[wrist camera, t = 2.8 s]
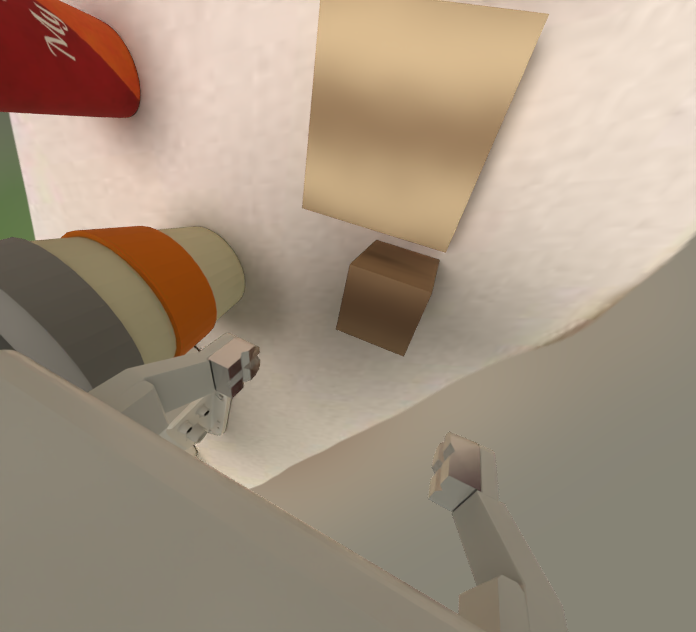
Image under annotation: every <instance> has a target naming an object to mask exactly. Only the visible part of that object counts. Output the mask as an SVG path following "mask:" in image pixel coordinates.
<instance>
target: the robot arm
mask: <svg viewBox="0 0 696 632" xmlns="http://www.w3.org/2000/svg"><path fill="white" fill-rule="evenodd" d="M259 353H260V351H259V347H258V346H256V345H254V344H252V343H250V342H248V341H246V340H244V339H241V338H239V337H237V336H235V335H233V334H231V333H226V334H224V335H222V336H221V337H219V338H218V339H217V340H215V341H214V342H212V343H211V344H210V345H208V346H207V347H205V348H204V349H203V350H201V351H200V352H199V351H198V350H197V349H196V348H194V347H193V348H192V349H191V350H189V351H188V352H187V353H186V354H185V355H182V356H178V357H174V358H170V359H165V360H161V361H157V362H153V363H149V364H144V365H140V366H136V367H132V368H128V369H125V370H124V371H122V372H120V373H119V374H117V375H115V376H114V377H112V378H110V379H109V380H107V381H106V382H104V383H102V384H101V385H99V386H97V387H96V388H94V389H92V390H91V391H89V392H88V393H87V392H85V391H84V390H82V389H80V388H79V387H77V386H75V385H74V384H72V383H70V382H69V381H67V380H65V379H64V378H62V377H60V376H59V375H57V374H55V373H54V372H52V371H50V370H49V369H47V368H45V367H43V366H42V365H40V364H38V363H37V362H35V361H34V360H32V359H30V358H29V357H27V356H25V355H24V354H22V353H20V352H17V351H14V350H0V632H568V628H567V624H566V619H565V614H564V609H563V606H562V604H561V602H560V600H559V599H558V597H557V595H556V593H555V592H554V590H553V588H552V586H551V585H550V583H549V581H548V580H547V578H546V576H545V574H544V572H543V570H542V569H541V567H540V565H539V563H538V562H537V560H536V558H535V556H534V555H533V553H532V551H531V549H530V548H529V546H528V544H527V543H526V541H525V539H524V537H523V535H522V534H521V532H520V530H519V528H518V527H517V525H516V523H515V521H514V520H513V518H512V516H511V514H510V513H509V511H508V509H507V507H506V505H505V504H504V503H502V502H500V500H499V489H498V479H497V467H496V457H495V453H494V451H493V450H491V449H488V448H486V447H484V446H482V445H479V444H477V443H476V442H473V441H471V440H468V439H466V438H464V437H462V436H459V435H457V434H455V433H452V432H450V431H449V432H448V433H447V434H446V435H445V438H444V442H442V443H440V444H439V445H438V447H437V448H436V451H435V454H434V457H433V462H432V469H433V471H434V476H433V477H432V478H431V479H430V486H429V494H428V499H429V500H431V501H432V502H434V503H436V504H438V505H440V506H442V507H443V508H445V509H447V510H449V511H451V512H453V513H452V516H453V519H454V522H455V525H456V527H457V530H458V533H459V536H460V539H461V542H462V545H463V548H464V551H465V554H466V557H467V559H468V562H469V565H470V568H471V571H472V574H473V577H474V580H475V583H476V587H474V588H472V589H469V590H467V591H465V592H463V593H461V594H460V595H459V610H458V612H459V613H458V614H457V613H455V612H454V611H452V610H450V609H448V608H447V607H445V606H444V605H442V604H440V603H439V602H436V601H435V600H433V599H432V598H430V597H429V596H427V595H425V594H424V593H422V592H420V591H418V590H417V589H415V588H413V587H412V586H410V585H408V584H407V583H405V582H403V581H402V580H400V579H398V578H397V577H395V576H393V575H392V574H390V573H388V572H387V571H385V570H383V569H382V568H380V567H378V566H377V565H375V564H373V563H372V562H370V561H368V560H367V559H365V558H363V557H362V556H360V555H358V554H357V553H355V552H353V551H352V550H350V549H348V548H347V547H345V546H343V545H341V544H340V543H338V542H336V541H335V540H333V539H331V538H330V537H328V536H326V535H325V534H323V533H321V532H320V531H318V530H316V529H315V528H313V527H311V526H310V525H308V524H306V523H305V522H303V521H301V520H300V519H298V518H296V517H295V516H293V515H291V514H290V513H288V512H286V511H285V510H283V509H281V508H280V507H278V506H276V505H274V504H273V503H271V502H269V501H268V500H266V499H264V498H263V497H261V496H260V495H258V494H256V493H255V492H253V491H251V490H250V489H248V488H246V487H244V486H243V485H241V484H239V483H238V482H236V481H234V480H233V479H231V478H229V477H228V476H226V475H224V474H223V473H221V472H219V471H218V470H216V469H214V468H213V467H211V466H209V465H208V464H206V463H204V462H203V461H201V460H199V459H198V458H196V457H194V456H193V455H191V454H189V453H188V452H186V451H184V450H186V449H189V448H190V447H192V446H193V445H194V444H195V443H199V442H200V441H201V440H202V439H203V438H204V437H205V436H206V434H207V432H208V433H210V434H214V435H222V434H223V433H224V432H225V430H226V425H227V419H228V413H229V408H230V402H231V398H233V397H234V396H235V395H236V394H237V393H238V392H239V391H240V390H241V389H242V388H243V387H244V382H246V381H249V380H251V379H252V378H253V377H254V376H255V375H256V373H257V371H258V370H259V367H260V359H259V358H258V356H257V355H258V354H259Z"/></svg>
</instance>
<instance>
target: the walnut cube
mask: <svg viewBox="0 0 696 632" xmlns="http://www.w3.org/2000/svg"><path fill="white" fill-rule="evenodd" d="M438 264H439V260H438V259H435V258H432V257H429V256H426V255H423V254H420V253H416V252H413V251H410V250H407V249H404V248H401V247H398V246H394V245H391V244H388V243H385V242H382V241H379V240H376V241H375V242H373V243H372V244H371V245H370V246H369V247H368V248H367V249H366V250H365V251H364V252H363V253H362V254H360V255H359V256H358V257H357V258H356V259H355V260H354V261H353V262H352V263H351V264H350V266H349V270H348V275H347V280H346V284H345V289H344V294H343V298H342V303H341V308H340V312H339V317H338V322H337V326H336V329H337V330H339V331H341V332H344V333H346V334H349V335H351V336H354V337H356V338H359V339H361V340H364V341H366V342H369V343H371V344H374V345H376V346H379V347H381V348H384V349H386V350H389V351H391V352H394V353H396V354H399V355H401V356H404V355H405V353H406V350H407V348H408V346H409V344H410V341H411V339H412V337H413V335H414V332H415V330H416V328H417V326H418V323H419V321H420V319H421V316H422V314H423V312H424V310H425V307H426V305H427V303H428V301H429V298H430V296H431V294H432V291H433V286H434V282H435V277H436V273H437V269H438Z"/></svg>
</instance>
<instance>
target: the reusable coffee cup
mask: <svg viewBox="0 0 696 632" xmlns="http://www.w3.org/2000/svg"><path fill="white" fill-rule="evenodd" d="M244 289H245V277H244V273H243V269H242V267H241V264H240V262H239V260H238V258H237V256H236V254H235V253H234V251H233V250H232V249H231V247H230V246H229V245H228V244H227V243H226V242H225V241H224V240H223V239H222V238H221V237H220V236H219V235H217V234H216V233H214V232H212V231H211V230H209V229H206V228H203V227H197V226H194V227H183V228H171V229H160V230H156V229H153V228H151V227H145V226H132V227H119V228H105V229H91V230H77V231H71V232H67V233H66V234H65V235H63V236H62V237H61V238H59V239H48V240H36V241H27V240H25V239H20V238H14V237H11V238H7V239H3V240H0V350H14V351H17V352H20V353H22V354H24V355H25V356H27V357H29V358H30V359H32V360H34V361H35V362H37V363H38V364H40V365H42V366H43V367H45V368H47V369H49V370H50V371H52V372H54V373H55V374H57V375H59V376H60V377H62V378H64V379H65V380H67V381H69V382H70V383H72V384H74V385H75V386H77V387H79V388H80V389H82V390H84V391H85V392H87V393H88V392H89V391H91V390H92V389H94V388H96V387H97V386H99V385H101V384H102V383H104V382H106V381H107V380H109V379H110V378H112V377H114V376H115V375H117V374H119V373H120V372H122V371H124V370H125V369H128V368H132V367H136V366H140V365H144V364H149V363H153V362H157V361H161V360H165V359H170V358H174V357H178V356H182V355H185V354H186V353H187V352H188V351H189V350H191V349H192V348H193V347H194V346H195V345H196V344H197V343H198V342H199V341H201V340H202V339H203V338H204V337H205V336H206V335H207V334H208V333H209V332H210V331H211V330H212V329H213V328H214V325H215V322H216V320H218V319H219V318H220V317H221V316H222V315H223V314H224V313H226V312H227V311H228V310H229V309H230V308H231V307H232V306H233V305H235V304H236V303H237V302H238V301H239V300H240V299H241V297H242V296H243V293H244Z"/></svg>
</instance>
